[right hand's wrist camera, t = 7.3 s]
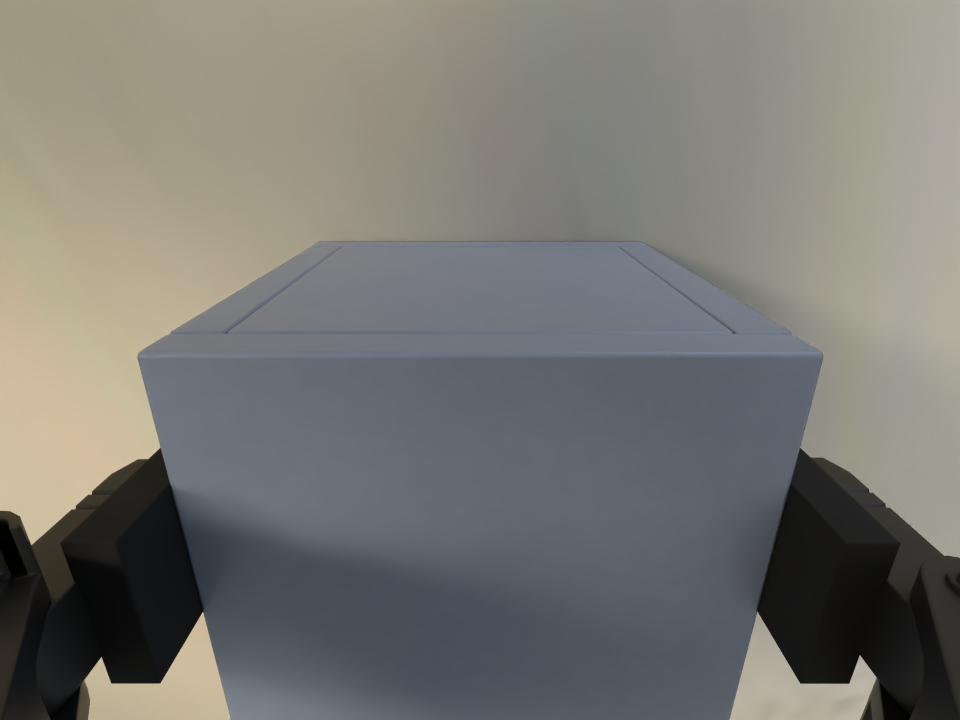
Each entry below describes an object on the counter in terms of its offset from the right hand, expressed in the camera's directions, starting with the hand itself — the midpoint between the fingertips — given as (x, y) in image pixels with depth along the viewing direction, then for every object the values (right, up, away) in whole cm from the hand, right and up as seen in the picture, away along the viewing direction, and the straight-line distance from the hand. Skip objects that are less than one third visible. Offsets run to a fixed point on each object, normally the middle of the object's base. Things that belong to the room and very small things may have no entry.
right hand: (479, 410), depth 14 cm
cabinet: (0, -3, +6) cm, 7 cm away
